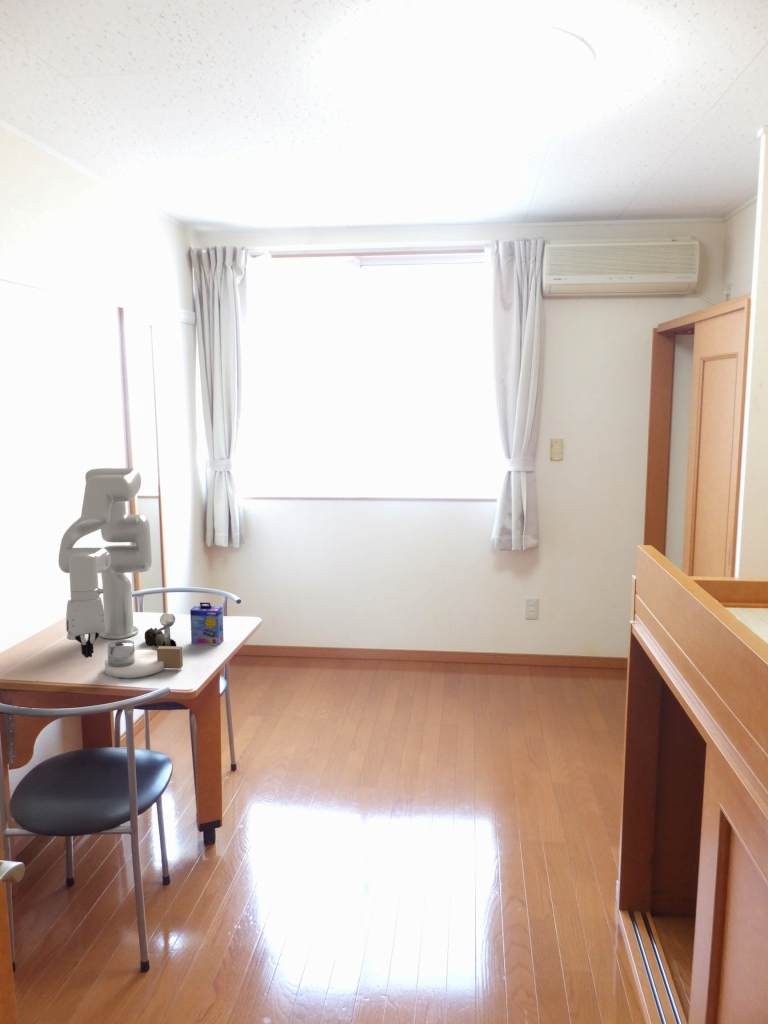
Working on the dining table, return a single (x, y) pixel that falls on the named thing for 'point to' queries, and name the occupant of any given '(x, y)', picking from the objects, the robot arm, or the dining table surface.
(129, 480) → the robot arm
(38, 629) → the dining table surface
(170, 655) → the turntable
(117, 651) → the silver metal cylinder
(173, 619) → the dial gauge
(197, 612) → the ink cartridge box
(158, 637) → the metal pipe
